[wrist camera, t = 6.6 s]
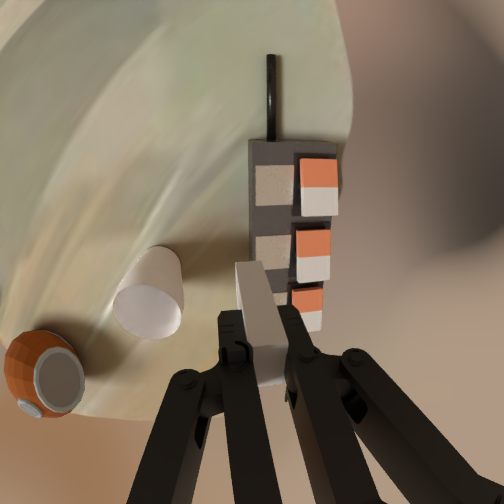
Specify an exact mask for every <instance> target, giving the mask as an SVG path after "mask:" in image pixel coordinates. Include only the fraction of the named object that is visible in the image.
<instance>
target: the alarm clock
mask: <svg viewBox="0 0 504 504" xmlns="http://www.w3.org/2000/svg"><path fill="white" fill-rule="evenodd" d="M4 373H5V377H6V381H7V384H8V387H9V390H10V391H11V393H12V394H13V396H14V397H15V399H16V400H17V401H18V405H19V406H20V407H21V409H22V410H24V411H25V412H26V413H28V414H29V415H31V416H33V417H36V418H40V417H47V418H57V417H61V416H63V415H65V414H67V413H70V412H71V411H72V410H73V409H74V408H75V407H76V406H77V404H78V403H79V402H80V401H81V399H82V396H83V393H84V390H85V376H84V372H83V367H82V365H81V362H80V360H79V358H78V356H77V355H76V353H75V351H74V349H73V347H72V346H71V345H70V344H69V343H67V342H66V341H65V340H64V339H63V338H62V337H61V336H60V335H58V334H55V333H52V332H50V331H47V330H33V331H27V332H23V333H22V334H20V335H19V336H18V337H17V338H15V339H14V340H13V341H12V342H11V344H10V346H9V348H8V350H7V352H6V354H5V363H4Z"/></svg>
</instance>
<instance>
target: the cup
mask: <svg viewBox="0 0 504 504" xmlns="http://www.w3.org/2000/svg"><path fill="white" fill-rule="evenodd" d="M183 309H184V292H183V284H182V274H181V265H180V261H179V258H178V257H177V255H176V254H175V253H174V252H173V251H171V250H170V249H168V248H165V247H161V246H155V247H151V248H148V249H147V250H145V251H144V252H143V253H142V255H141V256H140V257H139V258H138V260H137V261H136V262H135V263H134V265H133V266H132V267H131V268H130V270H129V271H128V272H127V274H126V275H125V276H124V278H123V279H122V280H121V282H120V284H119V286H118V289H117V292H116V296H115V299H114V302H113V312H114V316H115V318H116V320H117V321H118V323H119V324H120V325H121V326H122V327H123V328H124V329H125V330H126V331H127V332H129V333H130V334H132V335H134V336H137V337H139V338H143V339H149V340H158V339H163V338H166V337H168V336H170V335H172V334H173V333H174V332H175V331H176V330H177V329H178V328H179V326H180V323H181V318H182V312H183Z"/></svg>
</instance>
